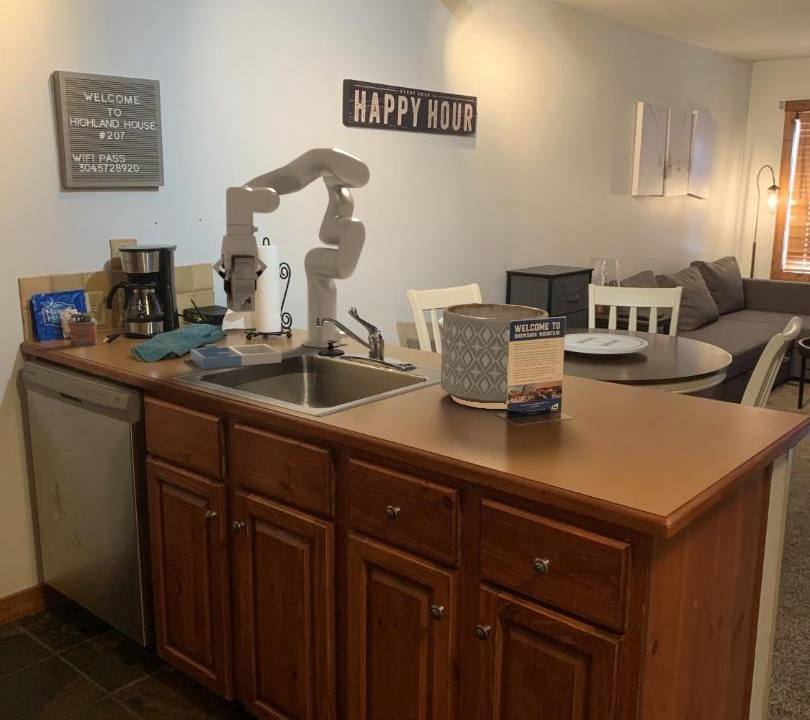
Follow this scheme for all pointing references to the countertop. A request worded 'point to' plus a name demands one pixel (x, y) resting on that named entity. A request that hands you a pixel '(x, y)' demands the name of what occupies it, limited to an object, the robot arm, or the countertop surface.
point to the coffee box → (242, 284)
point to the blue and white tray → (234, 355)
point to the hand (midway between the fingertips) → (240, 292)
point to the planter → (479, 349)
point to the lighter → (82, 330)
